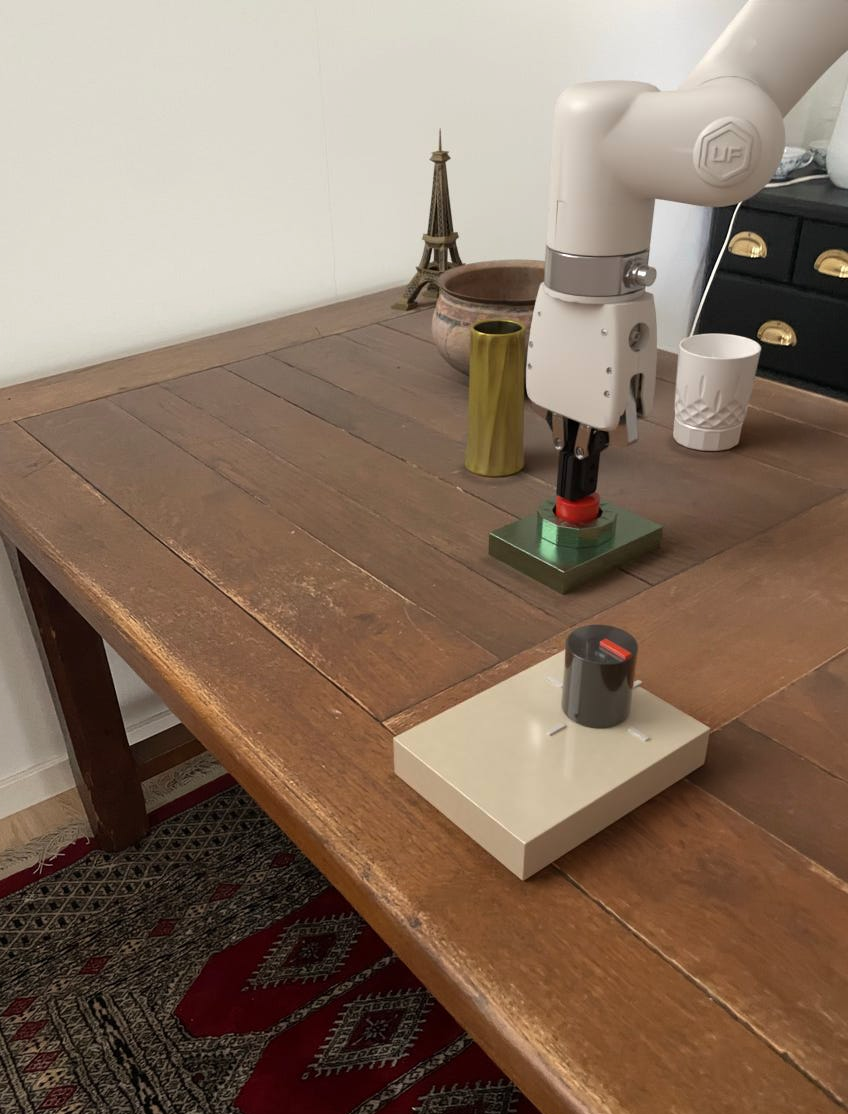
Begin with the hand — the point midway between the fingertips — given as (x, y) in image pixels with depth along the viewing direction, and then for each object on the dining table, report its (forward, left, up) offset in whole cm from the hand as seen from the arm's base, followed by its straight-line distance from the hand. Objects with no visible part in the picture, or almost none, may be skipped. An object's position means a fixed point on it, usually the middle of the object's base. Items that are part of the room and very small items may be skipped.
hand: (576, 493), depth 86 cm
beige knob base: (+22, +19, -6) cm, 30 cm away
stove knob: (+18, +19, -3) cm, 26 cm away
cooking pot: (-25, -35, -6) cm, 43 cm away
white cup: (-28, -8, -6) cm, 30 cm away
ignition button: (0, 0, -2) cm, 2 cm away
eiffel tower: (-40, -66, -6) cm, 77 cm away
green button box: (0, 0, -6) cm, 6 cm away
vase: (-7, -18, -6) cm, 20 cm away
